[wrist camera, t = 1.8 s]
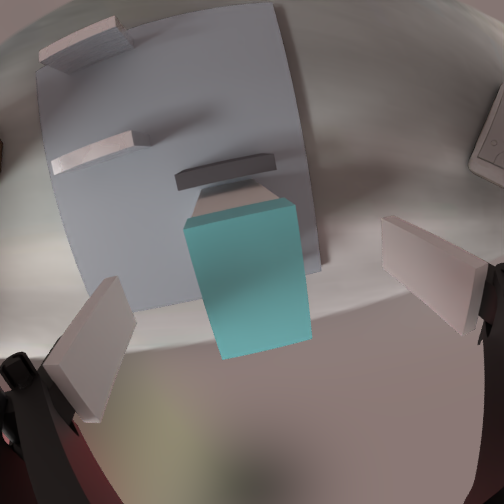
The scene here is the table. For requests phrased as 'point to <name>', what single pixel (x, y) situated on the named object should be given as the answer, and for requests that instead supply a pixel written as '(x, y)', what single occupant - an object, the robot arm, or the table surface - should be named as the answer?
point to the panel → (172, 143)
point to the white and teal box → (249, 267)
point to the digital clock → (491, 145)
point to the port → (81, 56)
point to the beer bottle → (0, 146)
